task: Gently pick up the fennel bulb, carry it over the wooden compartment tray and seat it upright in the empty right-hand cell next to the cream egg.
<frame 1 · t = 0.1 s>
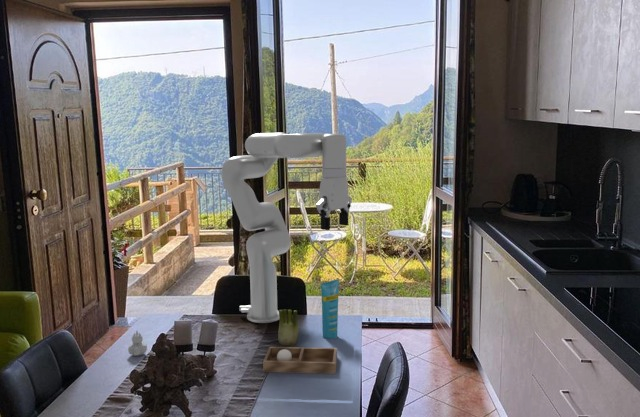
hand: (334, 227, 176), 37 cm above the table, tool pointing down, fingers open, 9 cm apart
wooden compartment tray: (301, 366, 161), on the table
tube: (330, 337, 183), on the table
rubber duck: (138, 356, 170), on the table
fennel bulb: (287, 346, 176), on the table
cream egg: (284, 364, 161), point 1 cm above the table, touching wooden compartment tray
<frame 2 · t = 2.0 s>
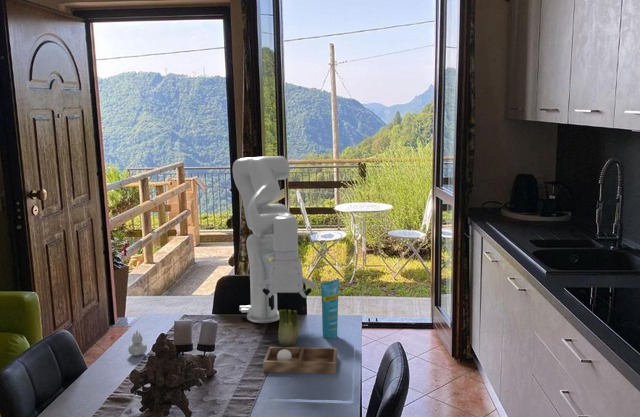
hand: (287, 308, 174), 12 cm above the table, tool pointing down, fingers open, 9 cm apart
nothing on the table moved.
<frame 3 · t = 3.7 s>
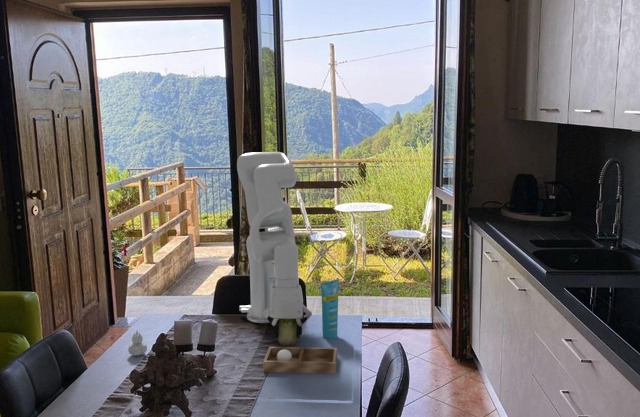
hand: (287, 336, 176), 3 cm above the table, tool pointing down, fingers closed on fennel bulb, 6 cm apart
fennel bulb: (287, 346, 176), on the table, touching gripper
everything else where it was.
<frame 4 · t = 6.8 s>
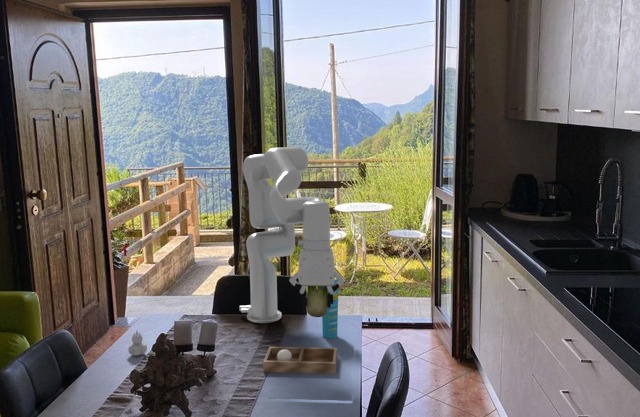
hand: (317, 305, 158), 18 cm above the table, tool pointing down, fingers closed on fennel bulb, 6 cm apart
fennel bulb: (316, 317, 158), point 15 cm above the table, touching gripper
everything else where it was.
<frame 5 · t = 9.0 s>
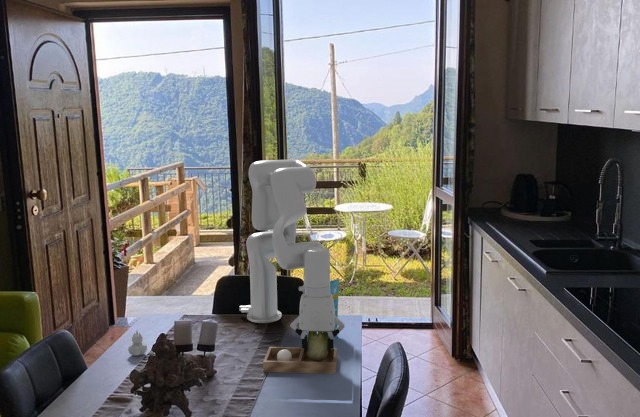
hand: (317, 350, 160), 5 cm above the table, tool pointing down, fingers closed on fennel bulb, 6 cm apart
fennel bulb: (317, 361, 161), point 2 cm above the table, touching gripper
everything else where it was.
when the fingers open (5 cm above the table, at t = 10.1 s): fennel bulb stays where it is, resting on wooden compartment tray.
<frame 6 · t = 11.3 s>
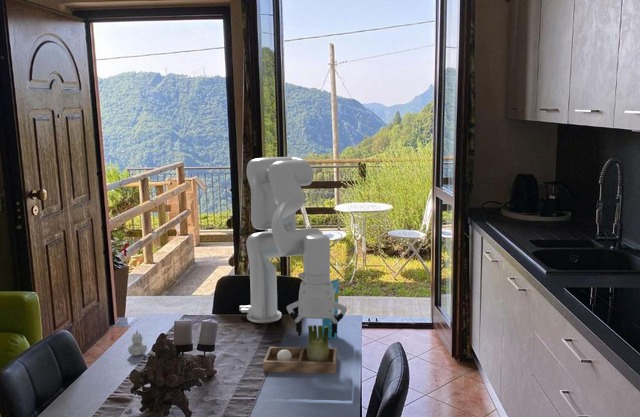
hand: (316, 334, 160), 10 cm above the table, tool pointing down, fingers open, 9 cm apart
fennel bulb: (317, 365, 161), resting on wooden compartment tray
everything else where it was.
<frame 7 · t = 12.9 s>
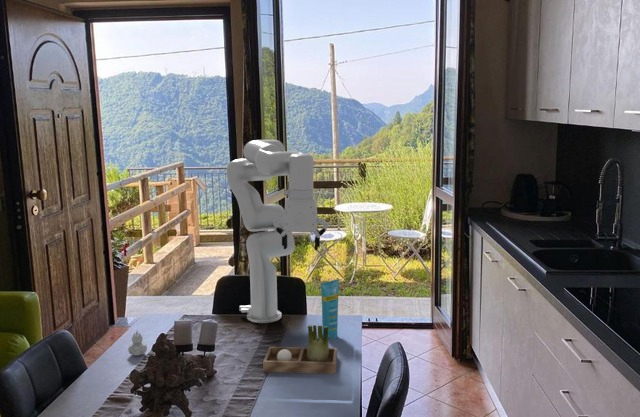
hand: (300, 248, 172), 31 cm above the table, tool pointing down, fingers open, 9 cm apart
nothing on the table moved.
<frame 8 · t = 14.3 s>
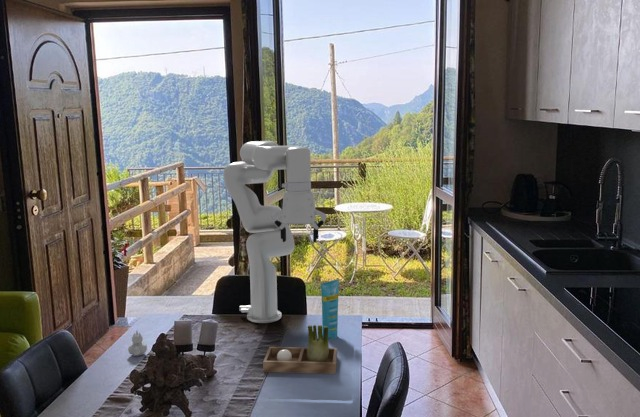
hand: (299, 241, 174), 33 cm above the table, tool pointing down, fingers open, 9 cm apart
nothing on the table moved.
at the end: fennel bulb 0.4 cm from the target spot on the wooden compartment tray, point 0.4 cm above the wooden compartment tray's base; fennel bulb tilted 0°; the gripper is holding nothing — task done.
